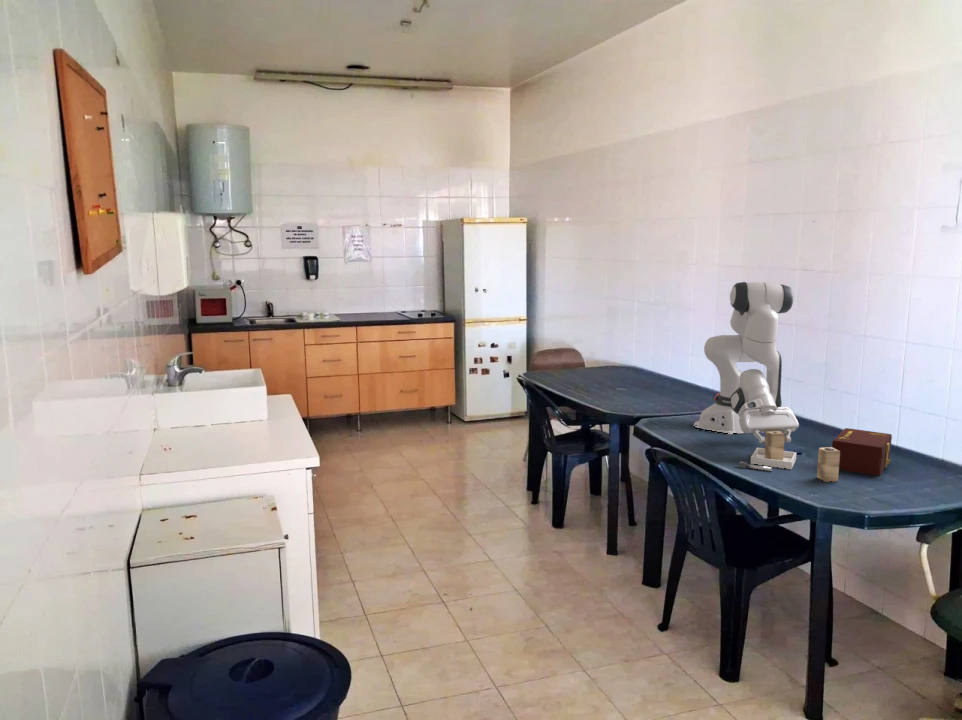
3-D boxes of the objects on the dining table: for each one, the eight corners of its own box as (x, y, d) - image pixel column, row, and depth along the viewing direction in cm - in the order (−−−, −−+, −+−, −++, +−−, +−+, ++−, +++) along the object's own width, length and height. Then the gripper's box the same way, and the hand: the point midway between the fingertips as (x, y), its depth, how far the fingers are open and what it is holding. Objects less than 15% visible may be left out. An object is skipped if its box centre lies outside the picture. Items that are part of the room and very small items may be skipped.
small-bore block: (764, 458, 258) (765, 430, 256) (776, 458, 259) (778, 430, 257) (770, 462, 254) (772, 434, 252) (783, 461, 254) (784, 433, 252)
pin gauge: (738, 467, 249) (738, 462, 249) (739, 466, 251) (739, 461, 251) (771, 472, 244) (771, 467, 244) (771, 470, 246) (772, 465, 246)
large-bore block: (816, 477, 239) (818, 447, 237) (829, 476, 240) (831, 447, 238) (824, 481, 235) (827, 451, 233) (837, 481, 235) (840, 451, 234)
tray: (750, 463, 254) (750, 457, 253) (756, 454, 265) (757, 447, 265) (791, 469, 247) (791, 462, 247) (796, 459, 259) (796, 452, 258)
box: (884, 477, 239) (887, 447, 238) (830, 468, 249) (832, 440, 247) (894, 462, 256) (896, 434, 254) (842, 454, 265) (844, 427, 264)
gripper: (786, 411, 266) (799, 445, 258) (733, 413, 264) (744, 447, 256) (794, 402, 261) (807, 436, 253) (739, 404, 259) (751, 438, 251)
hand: (775, 441), depth 254 cm, fingers open, 8 cm apart
